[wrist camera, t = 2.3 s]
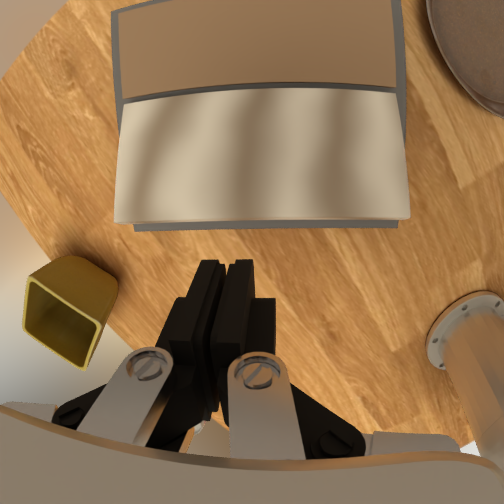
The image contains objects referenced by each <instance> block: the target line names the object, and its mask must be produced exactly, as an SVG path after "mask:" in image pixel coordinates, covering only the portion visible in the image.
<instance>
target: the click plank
mask: <svg viewBox="0 0 504 504" xmlns="http://www.w3.org/2000/svg"><path fill="white" fill-rule="evenodd" d="M409 218H411V215H410V199H409V186H408V175H407V166H406V157H405V149H404V141H403V134H402V127H401V121H400V115H399V109H398V103H397V98H396V93H386V92H376V91H364V90H349V89H327V88H266V89H244V90H229V91H217V92H206V93H196V94H188V95H180V96H172V97H165V98H158V99H152V100H146V101H140V102H134V103H129V104H124V107H123V115H122V122H121V130H120V139H119V149H118V160H117V172H116V186H115V205H114V223H118V224H145V223H170V222H201V221H240V220H405V219H409Z"/></svg>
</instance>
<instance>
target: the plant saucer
mask: <svg viewBox="0 0 504 504" xmlns="http://www.w3.org/2000/svg"><path fill="white" fill-rule="evenodd" d="M426 8H427V14H428V19H429V23H430V27H431V30H432V33H433V36H434V39H435V41H436V44H437V46H438V49H439V51H440V53H441V55H442V57H443V59H444V60H445V62H446V64H447V65H448V67H449V69H450V70H451V72H452V73H453V75H454V76H455V78H456V79H457V80H458V81H459V83H460V84H461V85H462V86H463V88H464V89H465V90H466V91H467V92H468V93H469V94H470V95H471V96H472V97H473V98H474V99H475V100H476V101H477V102H478V103H479V104H480V105H481V106H483V107H484V108H485V109H487V110H488V111H489V112H491V113H493V114H494V115H496V116H498V117H501V118H503V119H504V0H426Z"/></svg>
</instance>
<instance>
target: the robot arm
mask: <svg viewBox="0 0 504 504" xmlns="http://www.w3.org/2000/svg"><path fill="white" fill-rule="evenodd" d="M275 347H276V299H275V298H255V283H254V265H253V259H242V260H236V261H235V264H230V265H229V268H228V272H227V275H226V268H225V264H220V263H219V260H201V262H200V264H199V267H198V269H197V271H196V274H195V276H194V279H193V281H192V283H191V286H190V288H189V290H188V293H187V295H186V297H178V298H177V299H176V300H175V302H174V304H173V307H172V309H171V311H170V313H169V316H168V318H167V320H166V322H165V325H164V327H163V329H162V331H161V334H160V336H159V338H158V341H157V343H156V345H155V347H144V348H140V349H138V350H135V351H133V352H132V353H130V354H129V355H128V356H127V357H126V358H125V359H124V360H123V362H122V363H121V365H120V366H119V367H118V369H117V370H116V372H115V373H114V375H113V376H112V378H111V379H110V380H109V382H108V383H107V384H105V385H103V386H101V387H99V388H96V389H94V390H92V391H90V392H88V393H86V394H84V395H81V396H80V397H77V398H75V399H73V400H71V401H68V402H66V403H65V404H63V405H62V406H60V407H59V408H58V407H57V405H54V404H36V403H23V402H6V403H4V404H2V405H0V504H504V301H503V300H502V299H501V298H500V297H499V296H498V295H497V294H495V293H493V292H489V291H480V292H475V293H472V294H469V295H467V296H465V297H463V298H461V299H459V300H458V301H456V302H455V303H453V304H452V305H451V306H450V307H448V308H447V309H446V310H445V311H444V312H443V313H442V314H441V315H440V316H439V318H438V319H437V320H436V322H435V323H434V325H433V326H432V328H431V330H430V332H429V334H428V337H427V340H426V353H427V356H428V359H429V361H430V363H431V364H432V365H433V366H434V367H436V368H438V369H442V370H447V372H448V374H449V377H450V379H451V381H452V384H453V386H454V388H455V391H456V393H457V395H458V398H459V400H460V403H461V405H462V408H463V410H464V413H465V415H466V418H467V420H468V423H469V426H470V428H471V431H472V434H473V436H474V439H475V442H476V445H477V448H478V450H479V453H480V456H481V457H480V456H476V455H472V454H466V453H461V452H460V448H459V445H458V444H457V443H456V441H455V440H454V439H452V438H450V437H449V436H447V435H441V434H413V433H394V432H380V431H374V432H373V434H363V433H361V432H360V431H359V430H357V429H356V428H355V427H354V426H352V425H351V424H349V423H348V422H346V421H345V420H343V419H342V418H340V417H339V416H337V415H336V414H334V413H333V412H331V411H330V410H328V409H327V408H325V407H324V406H322V405H321V404H320V403H318V402H317V401H315V400H314V399H312V398H311V397H309V396H308V395H307V394H305V393H304V392H302V391H301V390H300V389H298V388H297V387H295V386H294V385H293V384H291V383H290V381H289V376H288V372H287V368H286V366H285V364H284V362H283V361H282V360H281V359H280V358H279V357H277V356H275ZM219 403H221V408H222V412H223V417H224V422H225V424H226V425H227V426H228V427H229V434H230V455H231V458H224V457H213V456H203V455H194V454H186V452H187V450H188V448H189V445H190V443H191V440H192V438H193V436H194V431H195V428H194V426H196V425H198V424H199V423H201V422H202V421H210V419H211V414H212V412H217V411H218V408H219Z"/></svg>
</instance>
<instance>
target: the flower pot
mask: <svg viewBox="0 0 504 504" xmlns="http://www.w3.org/2000/svg"><path fill="white" fill-rule="evenodd" d="M117 294H118V283H117V280H116V279H115V278H114V277H113V276H112V275H110V274H108V273H107V272H105V271H104V270H102V269H100V268H99V267H97V266H96V265H94V264H93V263H91V262H90V261H88V260H87V259H85V258H83V257H78V256H64V257H60V258H57V259H55V260H53V261H52V262H50V263H49V264H47V265H45V266H43V267H42V268H40V269H39V270H37V271H35V272H34V273H32V274H31V275H29V276H28V278H27V284H26V290H25V300H24V310H23V320H22V327H23V330H24V331H25V332H26V333H27V334H28V335H30V336H31V337H32V338H33V339H35V340H36V341H38V342H39V343H41V344H42V345H43V346H45V347H46V348H48V349H49V350H51V351H52V352H54V353H55V354H57V355H58V356H60V357H61V358H63V359H64V360H66V361H67V362H69V363H70V364H72V365H73V366H75V367H77V368H78V369H80V370H83V371H85V370H86V369H87V367H88V365H89V362H90V360H91V358H92V355H93V353H94V351H95V349H96V347H97V345H98V342H99V340H100V338H101V335H102V332H103V329H104V327H105V324H106V321H107V319H108V317H109V314H110V312H111V310H112V308H113V305H114V303H115V301H116V298H117Z"/></svg>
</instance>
